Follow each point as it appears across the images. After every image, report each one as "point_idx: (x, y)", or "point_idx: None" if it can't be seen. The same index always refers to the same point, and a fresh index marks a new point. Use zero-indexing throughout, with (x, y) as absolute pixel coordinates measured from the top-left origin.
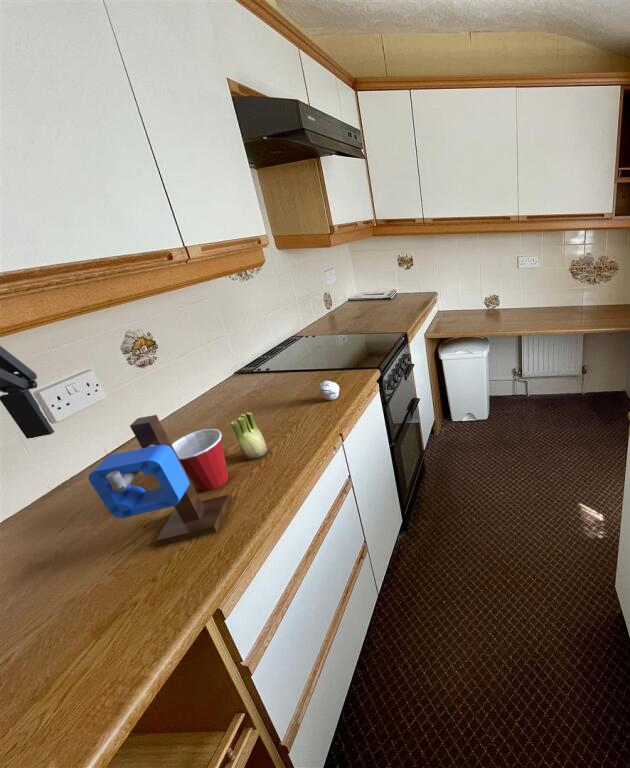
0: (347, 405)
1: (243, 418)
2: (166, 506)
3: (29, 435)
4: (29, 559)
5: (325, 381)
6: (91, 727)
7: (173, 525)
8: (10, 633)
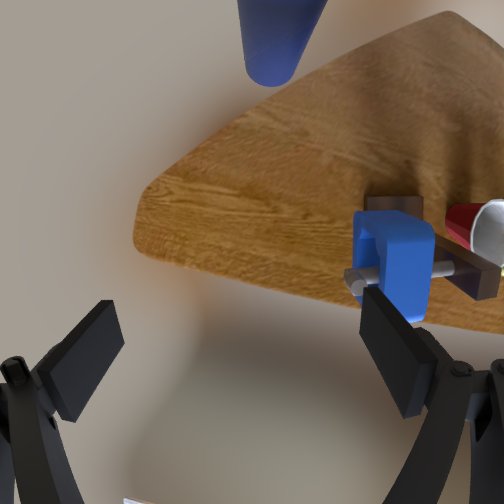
0: None
1: None
2: None
3: (365, 298)
4: (386, 52)
5: None
6: (150, 241)
7: (387, 208)
8: (275, 95)
